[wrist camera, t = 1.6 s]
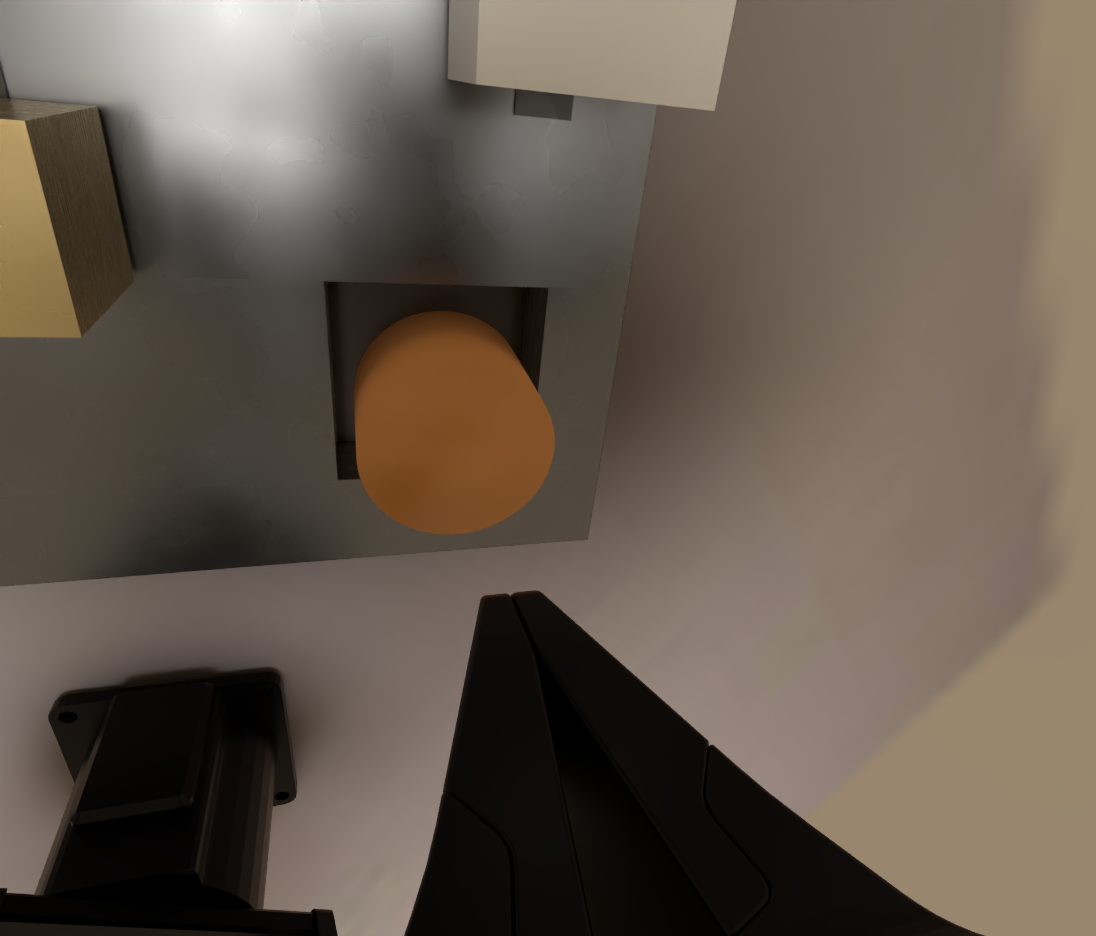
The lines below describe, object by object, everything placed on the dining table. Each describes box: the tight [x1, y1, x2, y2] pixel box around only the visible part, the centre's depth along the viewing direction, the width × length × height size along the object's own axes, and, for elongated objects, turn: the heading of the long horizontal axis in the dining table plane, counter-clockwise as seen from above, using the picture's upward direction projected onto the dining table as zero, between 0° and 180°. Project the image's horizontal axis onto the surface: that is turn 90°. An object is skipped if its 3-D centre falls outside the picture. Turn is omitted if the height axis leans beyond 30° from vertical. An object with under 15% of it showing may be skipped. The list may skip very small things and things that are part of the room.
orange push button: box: [354, 311, 555, 534], centre depth 15 cm, size 4×4×3 cm
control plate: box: [0, 0, 657, 586], centre depth 13 cm, size 22×17×2 cm
